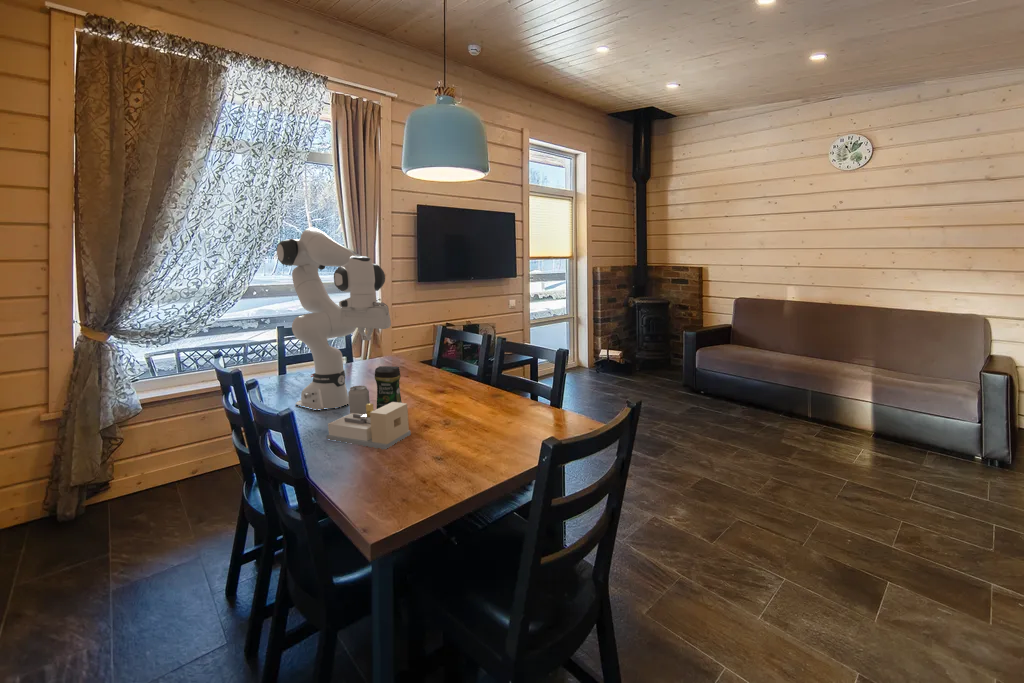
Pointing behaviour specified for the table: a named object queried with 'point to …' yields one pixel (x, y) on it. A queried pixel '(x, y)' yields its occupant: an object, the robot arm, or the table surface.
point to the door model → (373, 427)
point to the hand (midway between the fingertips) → (366, 340)
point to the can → (358, 399)
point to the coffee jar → (387, 385)
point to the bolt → (367, 413)
